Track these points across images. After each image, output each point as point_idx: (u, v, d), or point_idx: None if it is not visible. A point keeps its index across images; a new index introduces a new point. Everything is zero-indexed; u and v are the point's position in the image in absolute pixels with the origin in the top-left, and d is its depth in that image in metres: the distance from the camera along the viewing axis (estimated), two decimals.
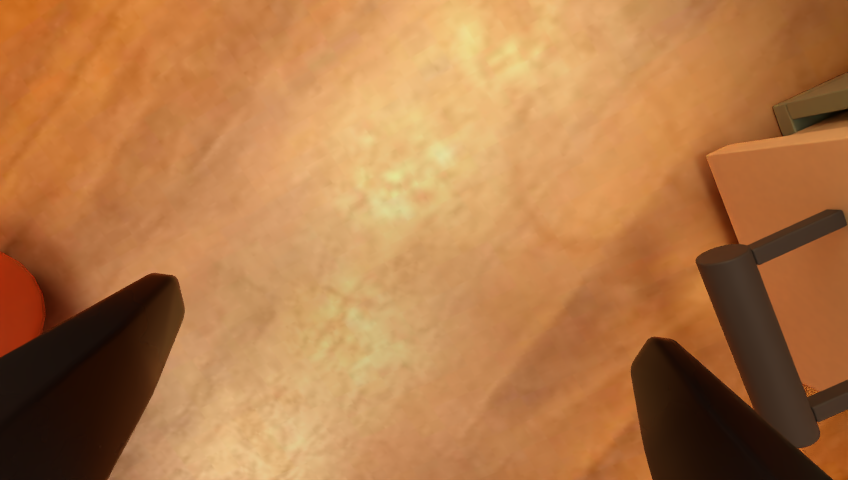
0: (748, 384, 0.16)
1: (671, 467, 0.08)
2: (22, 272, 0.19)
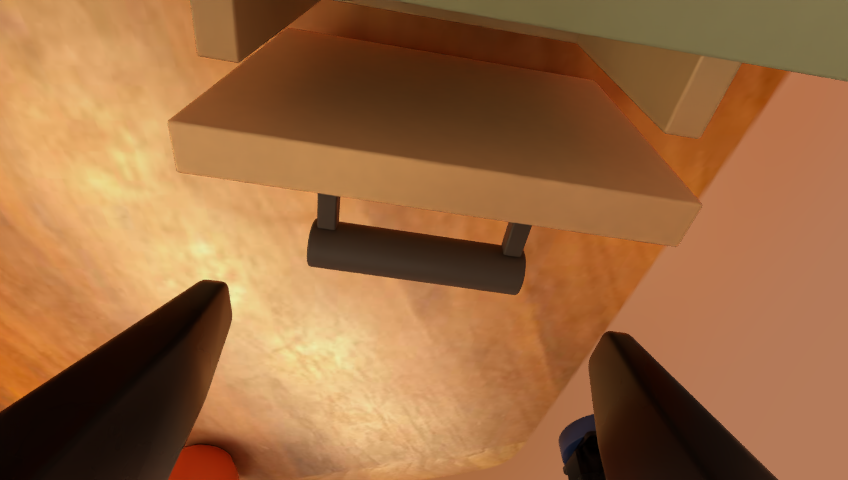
0: None
1: (622, 462, 0.08)
2: (184, 459, 0.33)
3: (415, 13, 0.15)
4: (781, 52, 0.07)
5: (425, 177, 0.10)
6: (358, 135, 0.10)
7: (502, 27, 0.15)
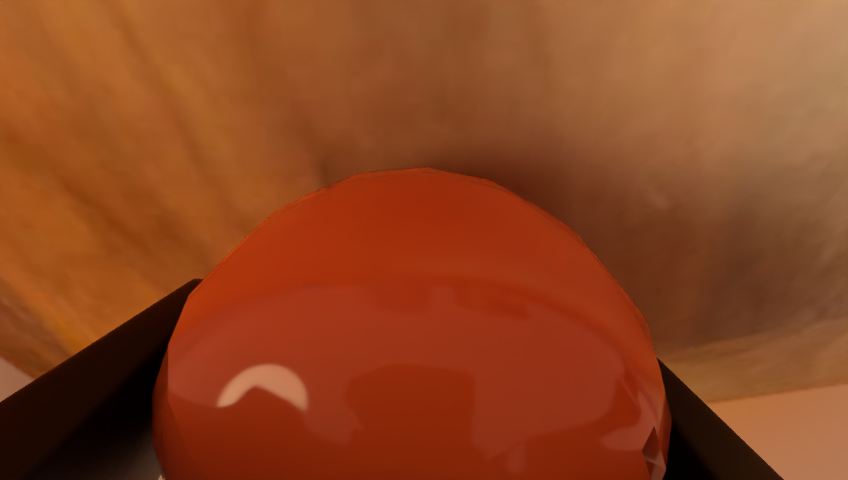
0: None
1: None
2: (416, 169, 0.07)
3: None
4: None
5: None
6: None
7: None
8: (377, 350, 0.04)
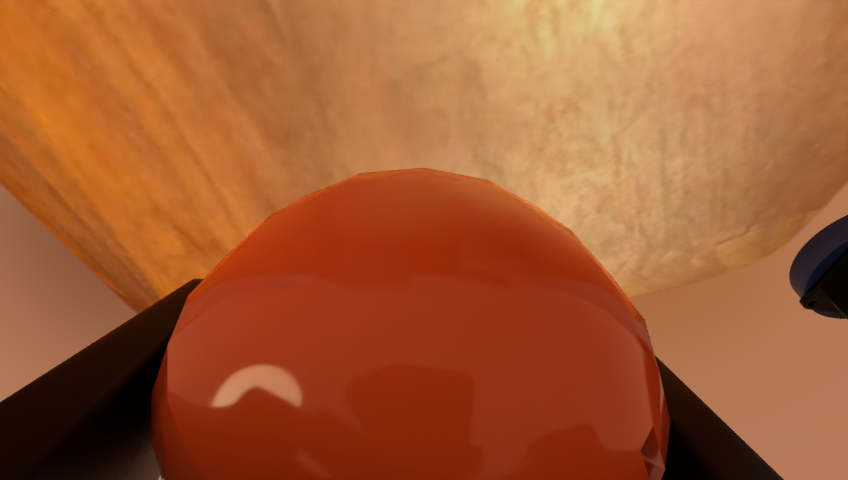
0: None
1: None
2: (416, 169, 0.07)
3: None
4: None
5: None
6: None
7: None
8: (377, 350, 0.04)
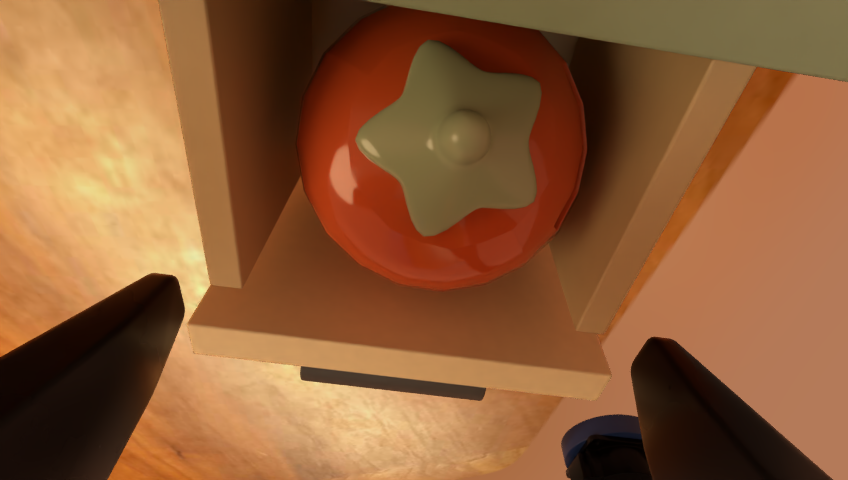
0: None
1: (671, 467, 0.08)
2: None
3: None
4: (803, 55, 0.06)
5: (390, 358, 0.12)
6: (337, 322, 0.12)
7: None
8: None
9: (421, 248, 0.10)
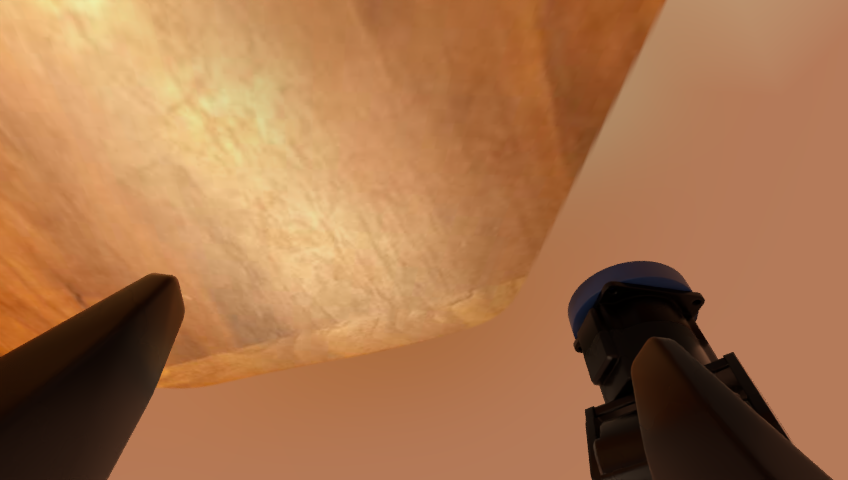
0: None
1: (672, 467, 0.08)
2: None
3: None
4: None
5: None
6: None
7: None
8: None
9: None
